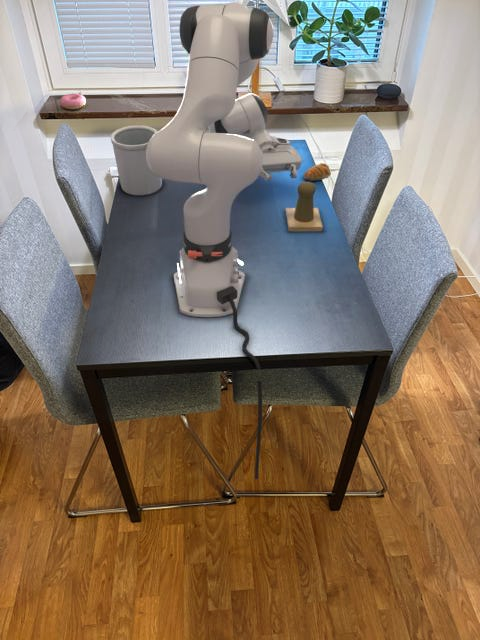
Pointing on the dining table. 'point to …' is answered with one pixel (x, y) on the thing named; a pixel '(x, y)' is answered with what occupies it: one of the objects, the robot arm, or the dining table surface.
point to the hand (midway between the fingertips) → (282, 177)
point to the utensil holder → (134, 160)
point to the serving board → (303, 226)
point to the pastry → (317, 172)
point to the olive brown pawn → (305, 202)
